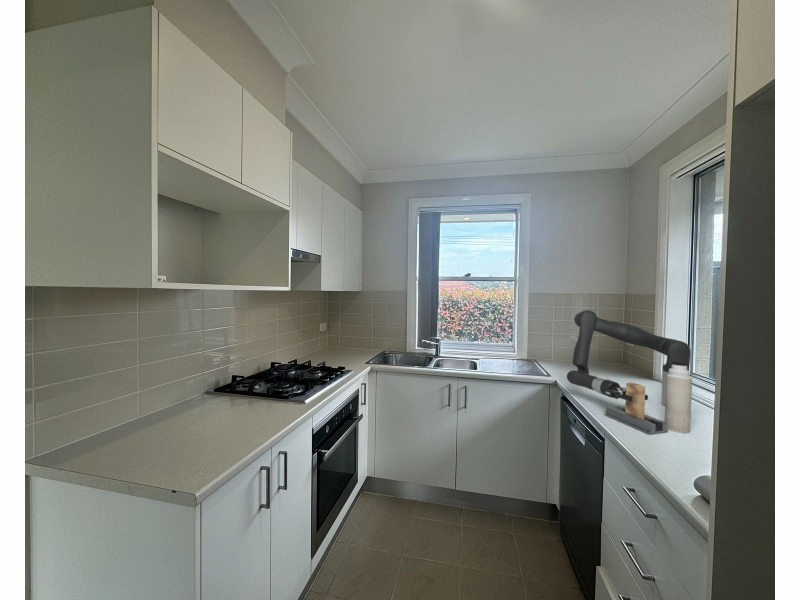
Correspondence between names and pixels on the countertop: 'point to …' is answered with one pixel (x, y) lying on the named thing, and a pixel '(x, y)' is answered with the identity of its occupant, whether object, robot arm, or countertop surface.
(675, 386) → the thermos bottle
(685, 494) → the countertop surface
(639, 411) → the door slat
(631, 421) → the rail
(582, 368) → the robot arm
